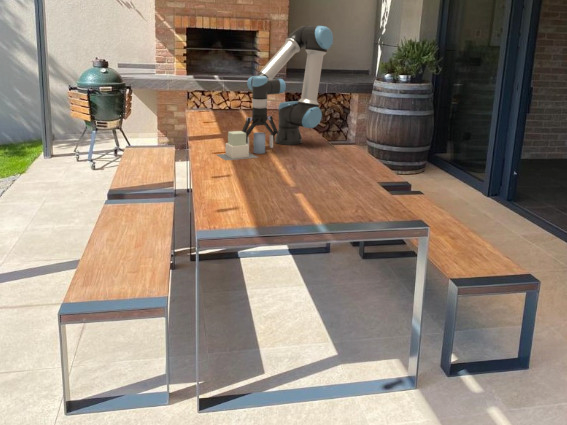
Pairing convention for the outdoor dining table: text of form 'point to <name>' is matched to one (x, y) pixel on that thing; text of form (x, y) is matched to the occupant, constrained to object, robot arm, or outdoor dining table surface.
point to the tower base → (237, 151)
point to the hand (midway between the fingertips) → (259, 148)
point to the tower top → (236, 138)
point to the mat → (235, 158)
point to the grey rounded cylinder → (259, 142)
